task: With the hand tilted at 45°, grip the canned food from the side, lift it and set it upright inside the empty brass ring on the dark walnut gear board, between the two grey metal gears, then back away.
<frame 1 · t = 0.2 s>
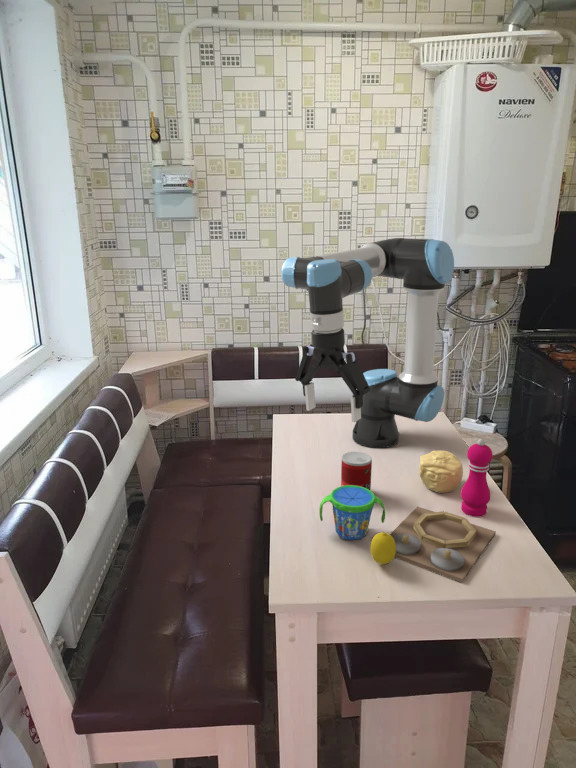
hand: (333, 414, 142), 27 cm above the table, tool pointing down, fingers open, 13 cm apart
snack cup: (351, 533, 142), on the table
canned food: (355, 494, 160), on the table
gear board: (437, 542, 138), on the table
sculpture: (439, 487, 164), on the table
pepper mill: (473, 511, 152), on the table
lemon: (382, 564, 131), on the table
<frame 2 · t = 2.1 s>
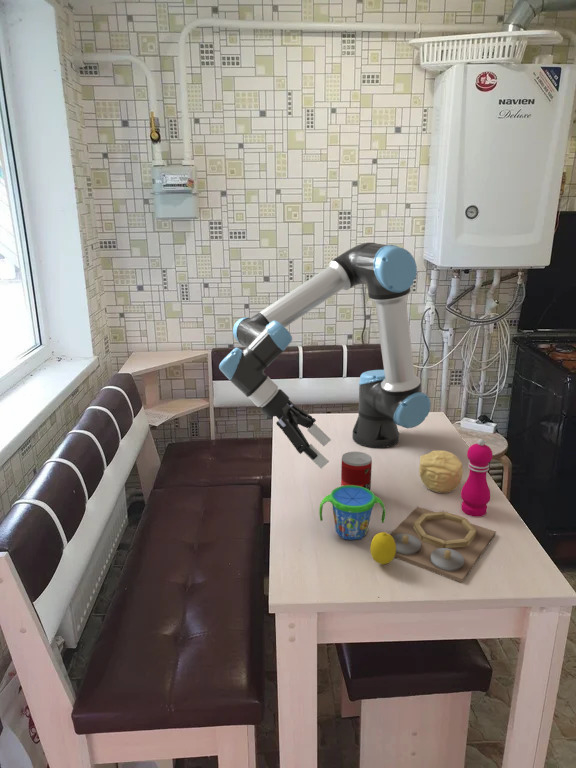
hand: (326, 453, 157), 12 cm above the table, tool tilted 45°, fingers open, 13 cm apart
nothing on the table moved.
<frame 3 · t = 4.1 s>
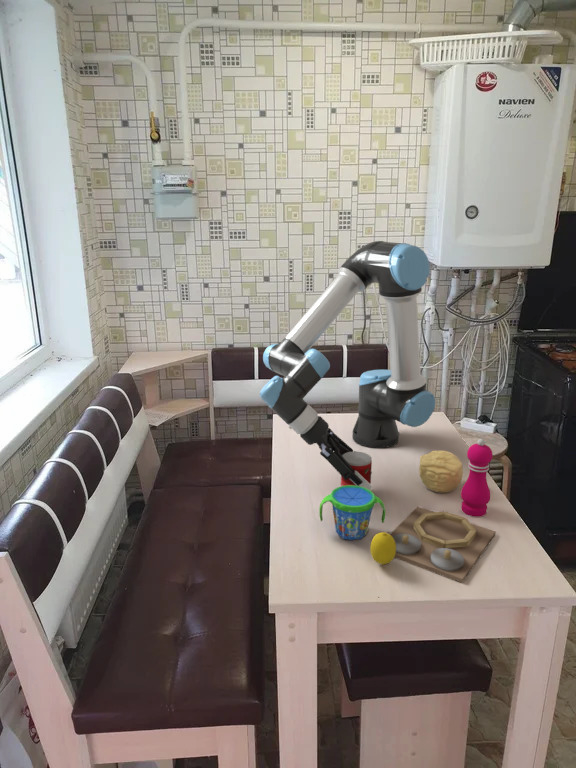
hand: (368, 482, 159), 4 cm above the table, tool tilted 45°, fingers closed on canned food, 8 cm apart
canned food: (355, 494, 160), on the table, touching gripper
everything else where it was.
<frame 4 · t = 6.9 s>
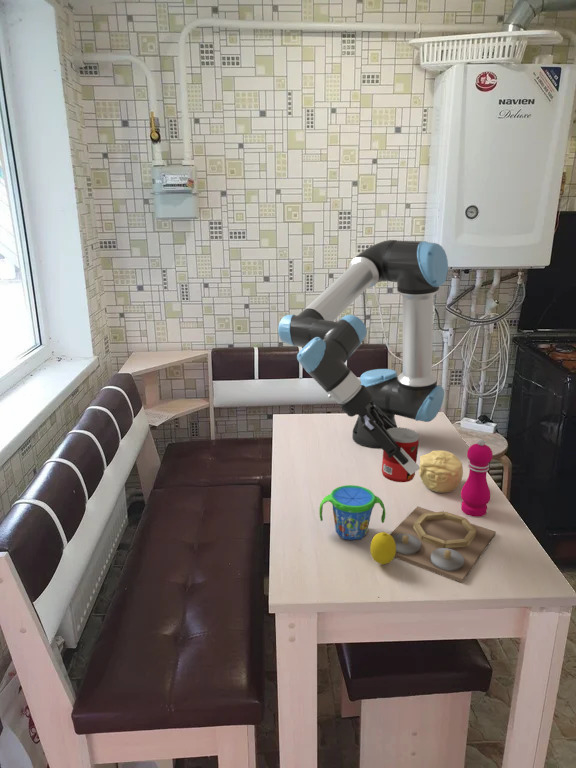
hand: (414, 463, 141), 16 cm above the table, tool tilted 45°, fingers closed on canned food, 8 cm apart
canned food: (397, 476, 143), point 13 cm above the table, touching gripper
everything else where it was.
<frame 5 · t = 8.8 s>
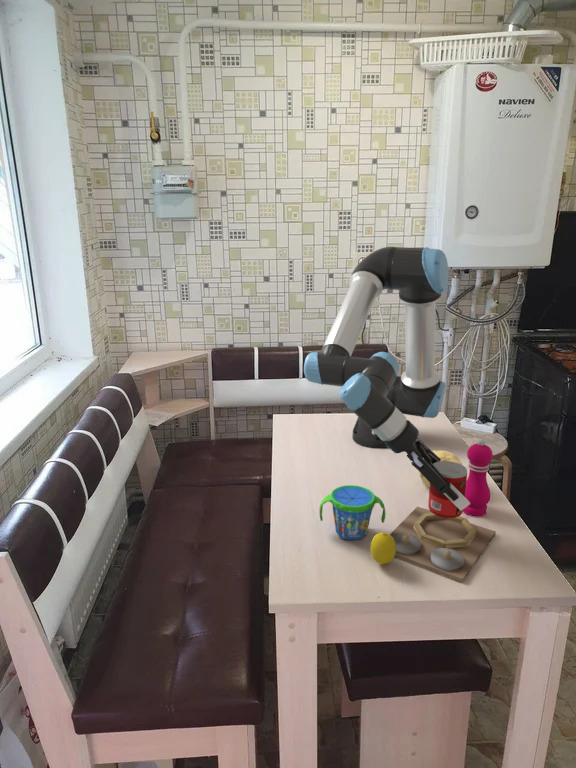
hand: (461, 497, 137), 10 cm above the table, tool tilted 45°, fingers closed on canned food, 8 cm apart
canned food: (445, 511, 139), point 7 cm above the table, touching gripper
everything else where it was.
when the fingers open (6 cm above the table, at t = 10.0 s): canned food drops 2 cm, resting on gear board.
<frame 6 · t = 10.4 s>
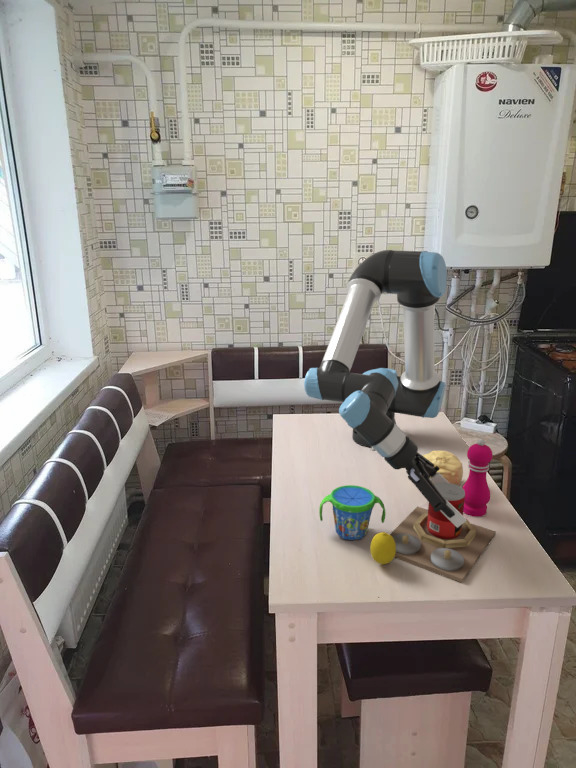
hand: (456, 507, 139), 7 cm above the table, tool tilted 45°, fingers open, 13 cm apart
canned food: (443, 531, 141), point 1 cm above the table, touching gear board
everything else where it was.
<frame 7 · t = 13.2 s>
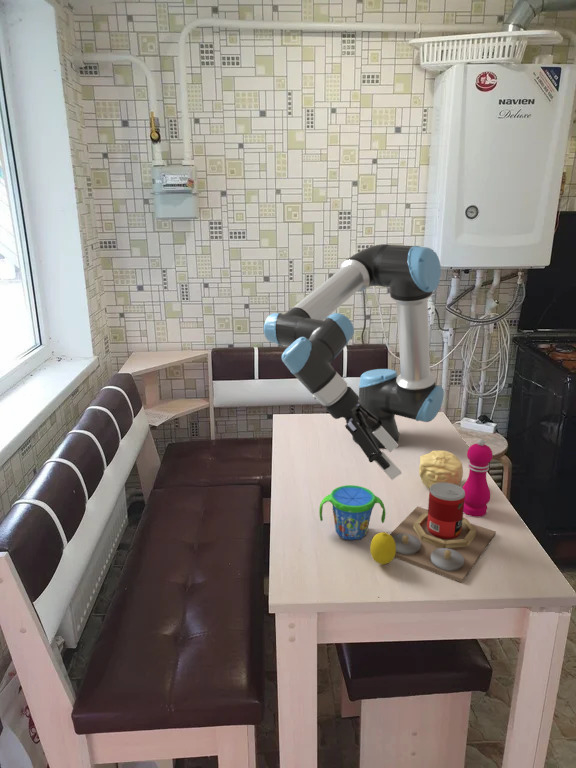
hand: (395, 461, 138), 18 cm above the table, tool tilted 40°, fingers open, 13 cm apart
nothing on the table moved.
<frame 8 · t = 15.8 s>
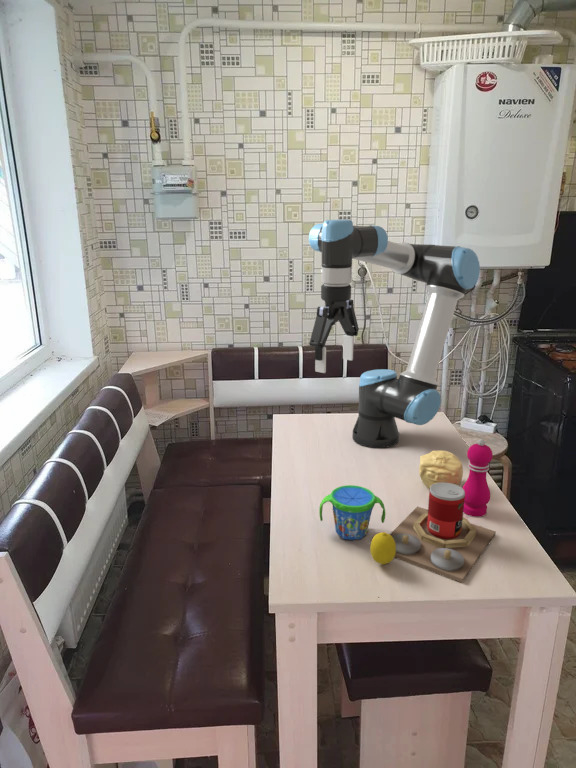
hand: (334, 365, 154), 35 cm above the table, tool pointing down, fingers open, 13 cm apart
nothing on the table moved.
at the end: canned food 0.2 cm from the target spot, point 0.8 cm above the table; canned food tilted 0°; the gripper is holding nothing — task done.
